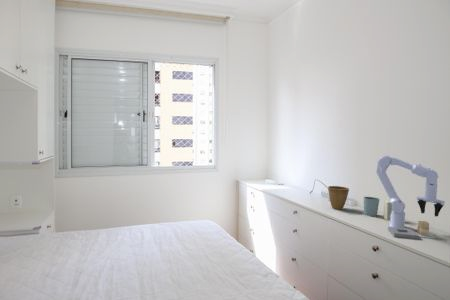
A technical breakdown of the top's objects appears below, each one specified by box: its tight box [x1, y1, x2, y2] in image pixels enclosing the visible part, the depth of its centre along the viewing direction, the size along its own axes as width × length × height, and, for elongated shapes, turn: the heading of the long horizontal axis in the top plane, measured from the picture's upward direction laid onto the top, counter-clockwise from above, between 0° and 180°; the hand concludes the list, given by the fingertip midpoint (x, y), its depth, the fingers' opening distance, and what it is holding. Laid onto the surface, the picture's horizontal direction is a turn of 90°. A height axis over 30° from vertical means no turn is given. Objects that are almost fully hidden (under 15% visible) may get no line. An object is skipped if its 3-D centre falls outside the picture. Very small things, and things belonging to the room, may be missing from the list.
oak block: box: [416, 220, 430, 236], centre depth 179 cm, size 4×4×7 cm
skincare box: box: [383, 200, 393, 221], centre depth 213 cm, size 6×4×12 cm
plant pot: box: [327, 185, 350, 211], centre depth 241 cm, size 15×15×16 cm
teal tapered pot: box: [363, 196, 380, 217], centre depth 224 cm, size 10×10×12 cm
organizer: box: [387, 226, 420, 240], centre depth 180 cm, size 14×12×2 cm
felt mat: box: [414, 231, 436, 240], centre depth 179 cm, size 9×9×1 cm
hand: (429, 214), depth 185 cm, fingers open, 7 cm apart
